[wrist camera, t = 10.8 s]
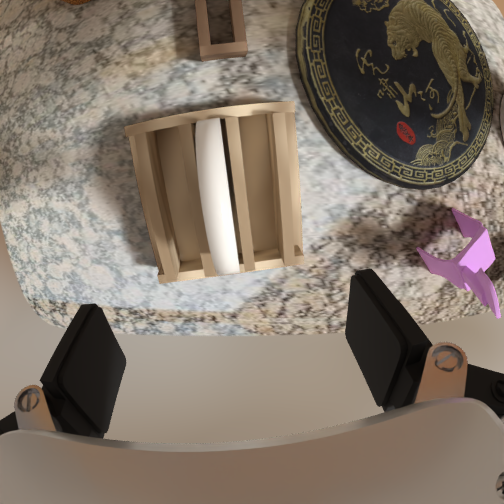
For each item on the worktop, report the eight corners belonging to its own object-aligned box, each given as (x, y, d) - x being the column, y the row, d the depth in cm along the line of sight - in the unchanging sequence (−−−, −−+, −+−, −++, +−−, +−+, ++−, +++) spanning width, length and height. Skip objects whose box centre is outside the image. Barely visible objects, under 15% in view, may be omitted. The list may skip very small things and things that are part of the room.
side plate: (215, 90, 15) (241, 287, 17) (223, 142, 27) (239, 262, 28) (185, 95, 15) (209, 292, 16) (205, 145, 27) (220, 264, 28)
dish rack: (290, 103, 26) (304, 100, 21) (300, 248, 33) (312, 270, 28) (130, 126, 25) (112, 128, 20) (161, 267, 32) (152, 292, 27)
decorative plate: (418, 238, 32) (233, 53, 22) (410, 232, 34) (232, 57, 23) (514, 101, 24) (391, -64, 14) (505, 99, 26) (384, -59, 15)
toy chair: (468, 237, 35) (534, 286, 22) (433, 276, 37) (493, 337, 24) (452, 200, 32) (531, 246, 19) (412, 243, 34) (485, 306, 21)
